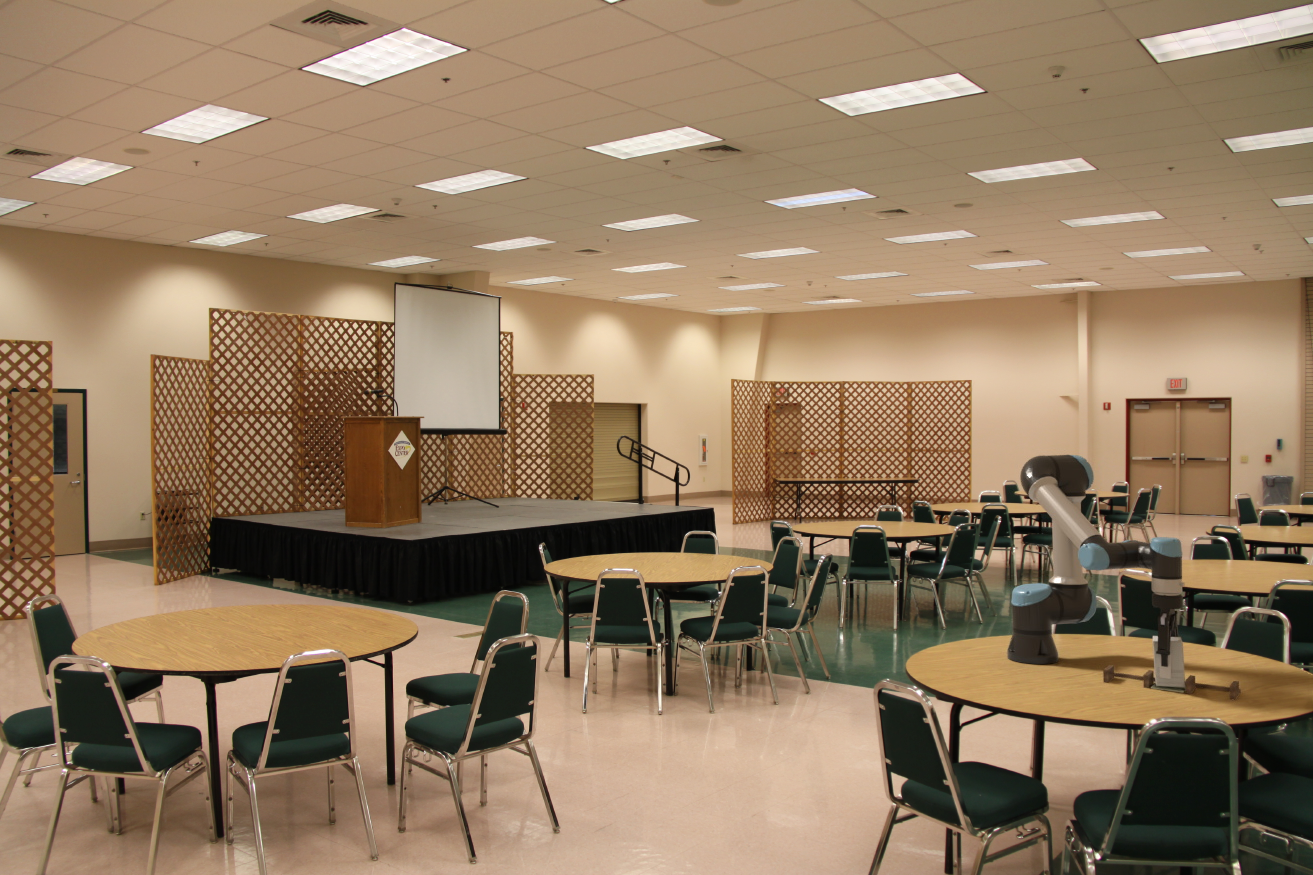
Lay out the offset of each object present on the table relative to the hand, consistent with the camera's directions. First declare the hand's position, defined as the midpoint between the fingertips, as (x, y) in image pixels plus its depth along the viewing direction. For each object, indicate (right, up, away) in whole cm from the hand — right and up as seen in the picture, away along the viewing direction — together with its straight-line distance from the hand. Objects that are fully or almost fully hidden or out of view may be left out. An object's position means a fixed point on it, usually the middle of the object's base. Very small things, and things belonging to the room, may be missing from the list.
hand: (1168, 674), depth 259 cm
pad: (0, -4, 0) cm, 4 cm away
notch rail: (+1, -4, +1) cm, 4 cm away
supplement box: (0, -3, 0) cm, 3 cm away
